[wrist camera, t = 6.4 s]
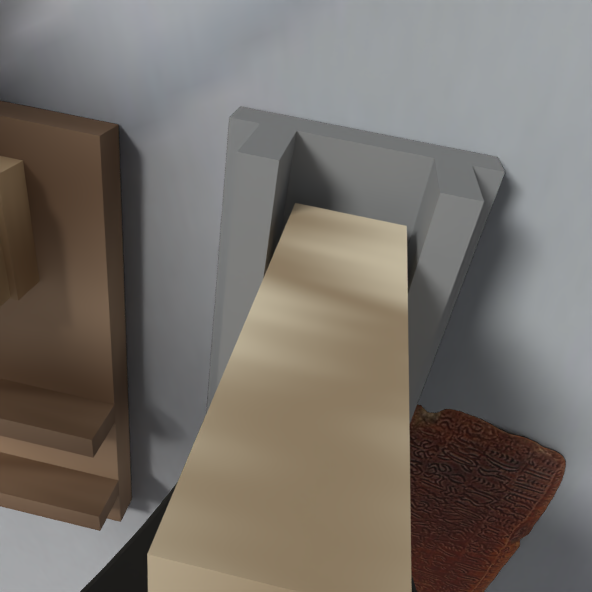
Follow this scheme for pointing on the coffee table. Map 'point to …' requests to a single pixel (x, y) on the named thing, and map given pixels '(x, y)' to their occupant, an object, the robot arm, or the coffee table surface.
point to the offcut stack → (15, 233)
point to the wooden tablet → (472, 498)
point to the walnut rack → (66, 327)
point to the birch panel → (305, 428)
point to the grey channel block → (351, 200)
